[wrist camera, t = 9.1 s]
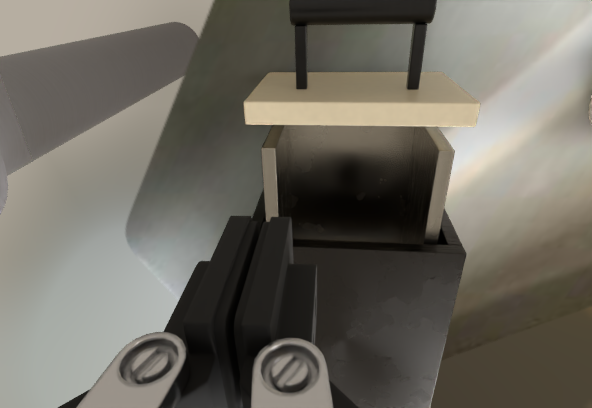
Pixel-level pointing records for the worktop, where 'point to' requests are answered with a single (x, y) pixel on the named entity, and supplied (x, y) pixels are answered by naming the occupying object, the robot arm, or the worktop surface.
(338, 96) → the beige drawer
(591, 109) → the plastic bottle
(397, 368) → the black rectangular box
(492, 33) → the worktop surface
